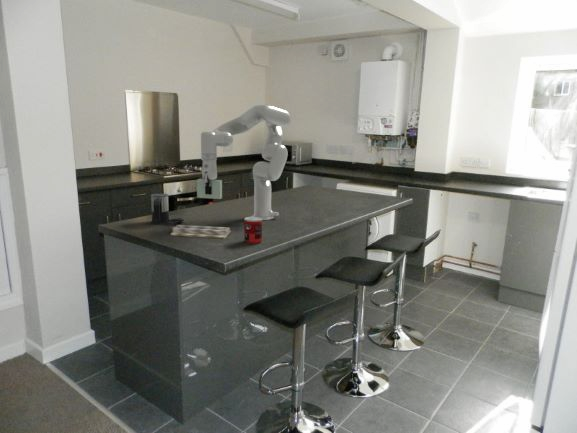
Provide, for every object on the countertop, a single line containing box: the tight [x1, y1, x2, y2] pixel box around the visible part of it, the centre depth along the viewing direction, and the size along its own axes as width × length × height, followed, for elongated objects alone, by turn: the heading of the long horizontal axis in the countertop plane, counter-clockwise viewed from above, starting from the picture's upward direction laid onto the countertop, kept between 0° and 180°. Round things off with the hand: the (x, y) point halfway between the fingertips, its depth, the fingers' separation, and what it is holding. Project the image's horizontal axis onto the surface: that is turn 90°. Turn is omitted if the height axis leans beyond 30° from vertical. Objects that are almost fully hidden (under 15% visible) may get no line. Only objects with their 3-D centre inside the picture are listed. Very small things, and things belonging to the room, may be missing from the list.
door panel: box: [196, 178, 223, 200], centre depth 211 cm, size 12×3×9 cm, turn 83°
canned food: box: [243, 216, 263, 245], centre depth 189 cm, size 8×8×11 cm
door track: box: [170, 224, 232, 239], centre depth 201 cm, size 26×12×3 cm, turn 84°
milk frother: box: [150, 193, 185, 225], centre depth 219 cm, size 14×16×15 cm
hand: (209, 193), depth 211 cm, fingers closed on door panel, 3 cm apart
